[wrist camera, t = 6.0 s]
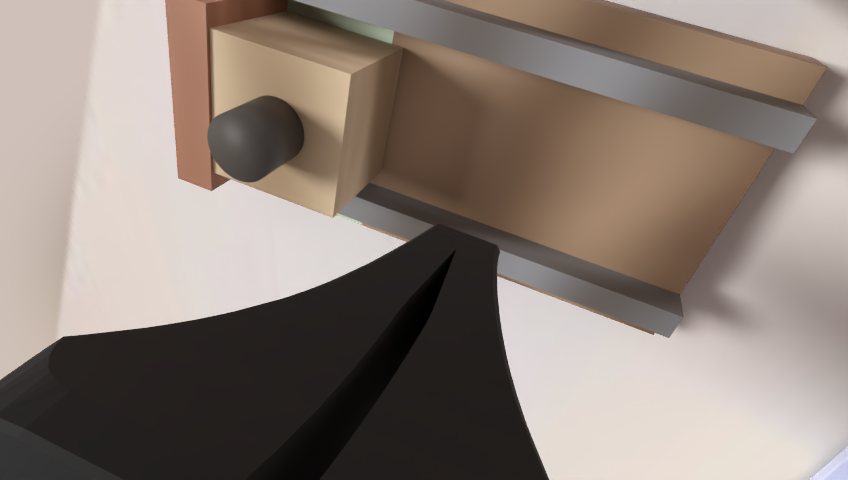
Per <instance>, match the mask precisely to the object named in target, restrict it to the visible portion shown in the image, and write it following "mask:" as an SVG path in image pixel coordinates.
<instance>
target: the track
mask: <svg viewBox="0 0 848 480" xmlns="http://www.w3.org/2000/svg"><path fill="white" fill-rule="evenodd" d="M165 3H166V16H167V30H168V44H169V58H170V71H171V85H172V99H173V113H174V126H175V140H176V154H177V168H178V178H179V179H182V180H184V181H187V182H190V183H192V184H195V185H197V186H200V187H203V188H205V189H208V190H210V191H212V190H214V189H216V188H217V187H219V186H220V185H222V184H224V183H225V182H227V181H228V180H230V179H229V178H226V177H224V176H221V175H219V174H216V173H214V171H213V156H212V154H211V152H210V149H209V145H208V139H207V133H208V128H209V125H210V123H211V121H212V100H211V65H210V30H209V28H212V27H217V26H221V25H226V24H230V23H235V22H239V21H244V20H248V19H253V18H257V17H261V16H266V15H270V14H275V13H279V12H284V11H287V12H290V13H294V14H297V15H300V16H303V17H306V18H310V19H313V20H316V21H319V22H322V23H326V24H329V25H332V26H335V27H339V28H342V29H345V30H348V31H351V32H355V33H358V34H361V35H364V36H367V37H371V38H374V39H377V40H380V41H383V42H387V43H390V44H393V45H396V46H399V47H403V53H402V59H401V64H400V70H399V75H398V81H397V87H396V92H395V98H394V103H393V109H392V114H391V120H390V126H389V131H388V137H387V142H386V148H385V153H384V159H383V164H382V170H381V172H380V173H379V174H378V175H377V176H376V177H375V178H373V179H372V180H371V181H370V182H369V183H368V184H367V185H366V186H365V187H364V188H363V189H362V190H361V191H360V192H359V193H358V194H357V195H356V196H355V197H354V198H353V199H352V200H351V201H350V202H349V203H348V204H346V205H345V206H344V207H343V208H342V209H341V210H340V211H339V212H338V213H337V214H336V215H337V216H340V217H342V218H345V219H348V220H350V221H353V222H356V223H358V224H361V225H364V226H366V227H369V228H371V229H374V230H377V231H379V232H382V233H385V234H387V235H390V236H393V237H395V238H398V239H401V240H403V241H406V242H408V241H410V240H412V239H413V238H415V237H416V236H418V235H420V234H421V233H423V232H424V231H426V230H428V229H429V228H431V227H432V226H434V225H437V224H442V225H445V226H447V227H450V228H453V229H455V230H458V231H461V232H464V233H466V234H469V235H472V236H474V237H477V238H480V239H482V240H485V241H488V242H491V243H493V244H496V245H497V246H498V248H499V250H500V254H499V258H498V266H497V276H499V277H501V278H504V279H507V280H509V281H512V282H515V283H517V284H520V285H523V286H525V287H528V288H531V289H533V290H536V291H539V292H541V293H544V294H547V295H549V296H552V297H555V298H557V299H560V300H562V301H565V302H568V303H570V304H573V305H576V306H578V307H581V308H584V309H586V310H589V311H592V312H594V313H597V314H600V315H602V316H605V317H608V318H610V319H613V320H616V321H618V322H621V323H624V324H626V325H629V326H631V327H634V328H637V329H639V330H642V331H645V332H647V333H650V334H653V335H654V333H657V334H660V335H663V336H665V337H668V338H669V337H670V336H671V334H672V333H673V331H674V330H675V328H676V327H677V325H678V324H679V322H680V321H681V320H682V318H683V313H682V306H681V300H680V293H681V292H682V290H683V289H684V287H685V286H686V284H687V283H688V281H689V279H690V278H691V276H692V275H693V273H694V272H695V270H696V269H697V267H698V266H699V264H700V263H701V261H702V259H703V258H704V256H705V255H706V253H707V252H708V250H709V249H710V247H711V246H712V244H713V243H714V241H715V239H716V238H717V236H718V235H719V233H720V232H721V230H722V229H723V227H724V226H725V224H726V222H727V221H728V219H729V218H730V216H731V215H732V213H733V212H734V210H735V209H736V207H737V206H738V204H739V202H740V201H741V199H742V198H743V196H744V195H745V193H746V192H747V190H748V189H749V187H750V185H751V184H752V182H753V181H754V179H755V178H756V176H757V175H758V173H759V172H760V170H761V169H762V167H763V165H764V164H765V162H766V161H767V159H768V158H769V156H770V155H771V153H772V152H773V150H774V149H775V148H776V149H780V150H783V151H786V152H789V153H793V154H794V152H795V151H796V150H797V148H798V147H799V145H800V144H801V142H802V141H803V139H804V138H805V136H806V135H807V133H808V132H809V130H810V129H811V127H812V126H813V124H814V123H815V121H816V120H817V118H816V117H815V116H813V115H812V114H811V113H810V112H809V111H808V110H807V109H806V108H805V107H804V106H803V104H804V102H805V101H806V99H807V98H808V96H809V95H810V93H811V92H812V90H813V88H814V87H815V85H816V84H817V82H818V81H819V79H820V78H821V76H822V75H823V73H824V71H825V70H826V68H827V67H825V66H824V65H822V64H821V63H819V62H818V61H816V60H815V59H813V58H811V57H807V56H804V55H800V54H796V53H793V52H789V51H786V50H782V49H778V48H775V47H771V46H767V45H764V44H760V43H757V42H753V41H749V40H746V39H742V38H739V37H735V36H731V35H728V34H724V33H721V32H717V31H713V30H710V29H706V28H702V27H699V26H695V25H692V24H688V23H684V22H681V21H677V20H674V19H670V18H666V17H663V16H659V15H656V14H652V13H648V12H645V11H641V10H637V9H634V8H630V7H627V6H623V5H619V4H616V3H612V2H609V1H605V0H165Z"/></svg>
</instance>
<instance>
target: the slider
mask: <svg viewBox="0 0 848 480" xmlns="http://www.w3.org/2000/svg"><path fill="white" fill-rule="evenodd" d="M209 30H210V65H211V100H212V121H211V123H210V125H209V128H208V133H207V139H208V145H209V149H210V152H211V154H212V156H213V171H214V173H216V174H219V175H221V176H224V177H226V178H229V179H232V180H234V181H237V182H240V183H242V184H245V185H248V186H250V187H253V188H256V189H258V190H261V191H264V192H266V193H269V194H271V195H274V196H277V197H279V198H282V199H285V200H287V201H290V202H293V203H295V204H298V205H301V206H303V207H306V208H308V209H311V210H314V211H316V212H319V213H322V214H324V215H327V216H330V217H332V218H333V217H334V216H335V215H336V214H337V213H338V212H339V211H340V210H341V209H342V208H343V207H344V206H345V205H346V204H348V203H349V202H350V201H351V200H352V199H353V198H354V197H355V196H356V195H357V194H358V193H359V192H360V191H361V190H362V189H363V188H364V187H365V186H366V185H367V184H368V183H369V182H370V181H371V180H372V179H373V178H375V177H376V176H377V175H378V174H379V173H380V172H381V170H382V164H383V159H384V153H385V148H386V142H387V137H388V131H389V126H390V120H391V114H392V109H393V103H394V98H395V92H396V87H397V81H398V75H399V70H400V64H401V59H402V53H403V47H399V46H396V45H393V44H390V43H387V42H383V41H380V40H377V39H374V38H371V37H367V36H364V35H361V34H358V33H355V32H351V31H348V30H345V29H342V28H339V27H335V26H332V25H329V24H326V23H322V22H319V21H316V20H313V19H310V18H306V17H303V16H300V15H297V14H294V13H290V12H287V11H284V12H279V13H275V14H270V15H266V16H261V17H257V18H253V19H248V20H244V21H239V22H235V23H230V24H226V25H221V26H217V27H212V28H209Z"/></svg>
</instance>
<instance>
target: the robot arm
mask: <svg viewBox="0 0 848 480" xmlns="http://www.w3.org/2000/svg"><path fill="white" fill-rule="evenodd" d="M499 254H500V250H499V248H498V246H497V245H496V244H493V243H491V242H488V241H485V240H482V239H480V238H477V237H474V236H472V235H469V234H466V233H464V232H461V231H458V230H455V229H453V228H450V227H447V226H445V225H442V224H437V225H434V226H432V227H431V228H429V229H428V230H426V231H424V232H423V233H421V234H420V235H418V236H416V237H415V238H413V239H412V240H410V241H408V242H407V243H405V244H403V245H401V246H400V247H398V248H396V249H394V250H393V251H391V252H389V253H387V254H385V255H383V256H382V257H380V258H378V259H376V260H374V261H372V262H370V263H368V264H367V265H364V266H362V267H360V268H358V269H356V270H354V271H352V272H349V273H347V274H345V275H343V276H341V277H339V278H337V279H334V280H332V281H330V282H327V283H325V284H322V285H320V286H317V287H315V288H312V289H309V290H307V291H304V292H301V293H298V294H295V295H292V296H289V297H286V298H283V299H280V300H276V301H272V302H268V303H265V304H261V305H257V306H253V307H250V308H246V309H242V310H238V311H235V312H231V313H226V314H221V315H217V316H212V317H207V318H202V319H197V320H191V321H185V322H180V323H174V324H168V325H162V326H155V327H148V328H140V329H132V330H123V331H114V332H105V333H97V334H88V335H78V336H66V337H62V338H61V339H59V340H58V341H56V342H55V343H53V344H52V345H50V346H49V347H47V348H46V349H44V350H43V351H41V352H40V353H38V354H37V355H35V356H34V357H32V358H31V359H30V360H28V361H27V362H25V363H24V364H23V365H21V366H20V367H18V368H17V369H15V370H14V371H12V372H11V373H10V374H8V375H7V376H6V377H4V378H3V379H1V380H0V480H549V478H548V476H547V474H546V471H545V469H544V466H543V464H542V461H541V459H540V456H539V454H538V451H537V449H536V447H535V444H534V442H533V439H532V437H531V434H530V432H529V429H528V427H527V424H526V421H525V418H524V415H523V412H522V409H521V406H520V403H519V400H518V397H517V394H516V391H515V387H514V384H513V380H512V377H511V373H510V369H509V365H508V360H507V356H506V351H505V346H504V341H503V336H502V330H501V323H500V315H499V305H498V295H497V266H498V258H499ZM809 480H848V446H847V447H846V448H845V449H844V450H843V451H842V452H840V453H839V454H838V455H837V456H836V457H835V458H834V459H832V460H831V461H830V462H829V463H828V464H827V465H826V466H824V467H823V468H822V469H821V470H820V471H819V472H817V473H816V474H815V475H814V476H813V477H812V478H811V479H809Z"/></svg>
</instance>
